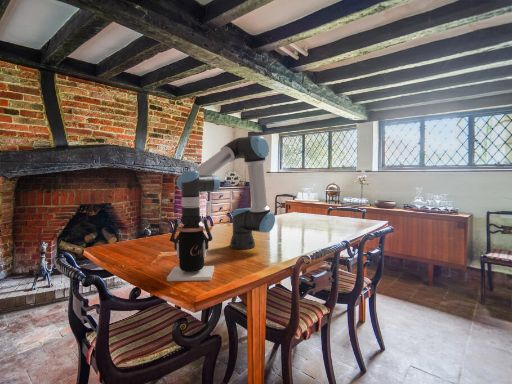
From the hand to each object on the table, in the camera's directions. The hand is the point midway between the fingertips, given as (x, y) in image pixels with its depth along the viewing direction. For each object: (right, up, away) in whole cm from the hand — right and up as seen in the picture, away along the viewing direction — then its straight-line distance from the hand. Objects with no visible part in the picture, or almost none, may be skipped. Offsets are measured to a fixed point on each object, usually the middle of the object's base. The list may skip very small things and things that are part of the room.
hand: (191, 257), depth 126 cm
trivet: (0, -8, 0) cm, 8 cm away
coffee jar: (0, -5, 0) cm, 5 cm away
